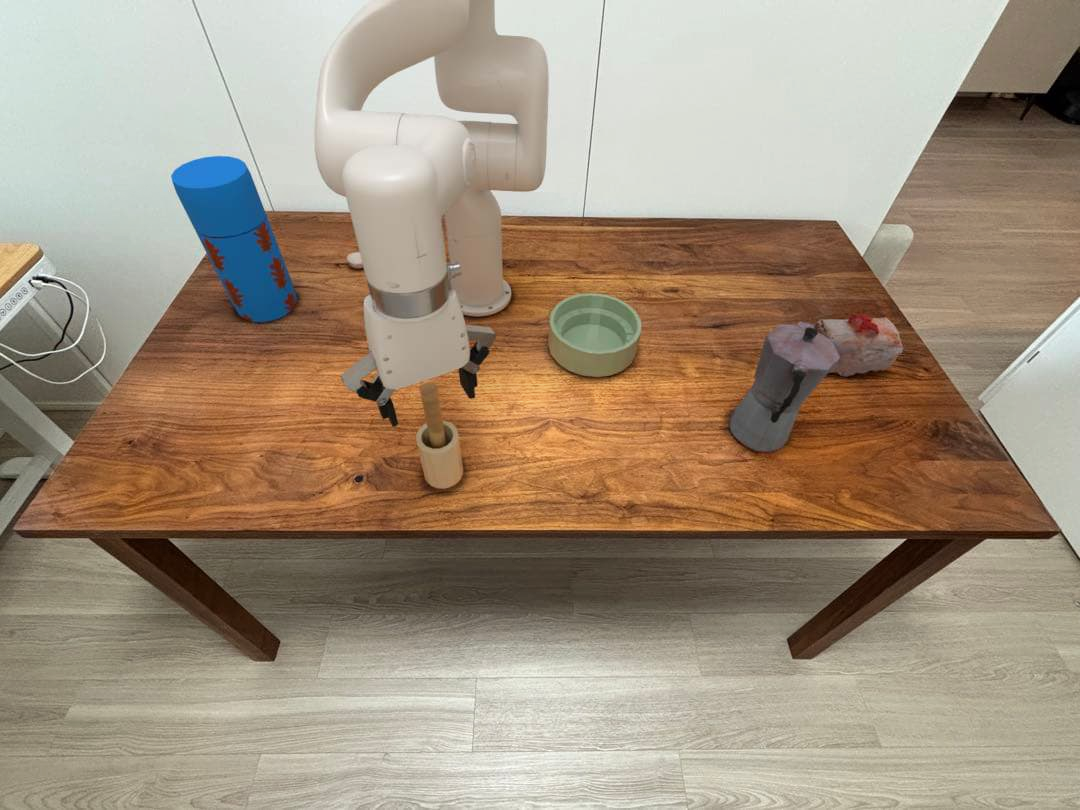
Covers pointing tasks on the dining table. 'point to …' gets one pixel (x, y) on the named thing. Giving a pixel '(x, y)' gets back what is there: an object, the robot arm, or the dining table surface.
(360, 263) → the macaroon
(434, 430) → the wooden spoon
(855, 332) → the food item
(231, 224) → the thermos
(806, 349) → the moka pot
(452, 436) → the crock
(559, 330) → the bowl
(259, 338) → the dining table surface
